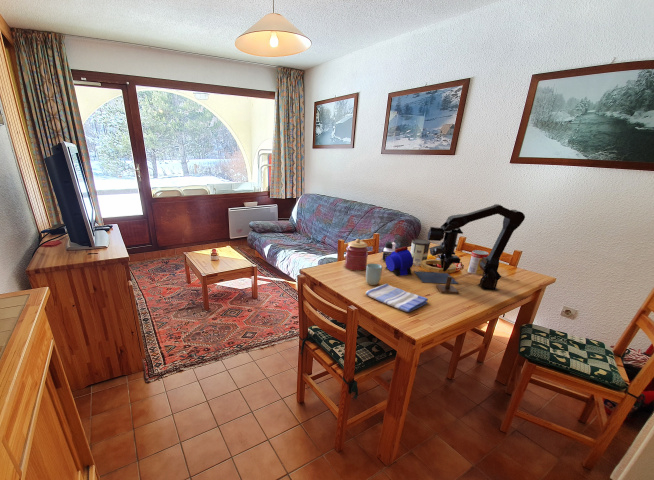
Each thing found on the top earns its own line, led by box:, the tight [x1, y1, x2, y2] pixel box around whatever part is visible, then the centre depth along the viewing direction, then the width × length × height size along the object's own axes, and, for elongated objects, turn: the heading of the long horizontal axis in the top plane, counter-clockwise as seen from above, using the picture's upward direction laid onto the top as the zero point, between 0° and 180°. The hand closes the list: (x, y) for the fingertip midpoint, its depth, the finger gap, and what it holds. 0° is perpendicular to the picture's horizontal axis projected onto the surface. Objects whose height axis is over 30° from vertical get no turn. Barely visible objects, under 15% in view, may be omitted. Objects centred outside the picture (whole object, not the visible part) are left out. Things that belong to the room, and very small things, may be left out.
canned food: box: [467, 249, 489, 276], centre depth 177 cm, size 8×8×12 cm
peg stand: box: [435, 275, 459, 295], centre depth 154 cm, size 8×8×8 cm
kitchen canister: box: [344, 238, 369, 271], centre depth 183 cm, size 13×13×18 cm
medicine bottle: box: [381, 241, 397, 263], centre depth 195 cm, size 7×7×12 cm
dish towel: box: [365, 283, 429, 313], centre depth 145 cm, size 17×24×3 cm
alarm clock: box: [385, 245, 414, 277], centre depth 176 cm, size 12×12×15 cm
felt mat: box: [413, 271, 459, 285], centre depth 171 cm, size 18×16×1 cm
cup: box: [365, 263, 383, 286], centre depth 161 cm, size 8×8×10 cm
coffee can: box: [409, 238, 431, 267], centre depth 190 cm, size 10×10×14 cm
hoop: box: [419, 258, 458, 274], centre depth 168 cm, size 17×17×2 cm
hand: (443, 270), depth 161 cm, fingers closed on hoop, 2 cm apart
